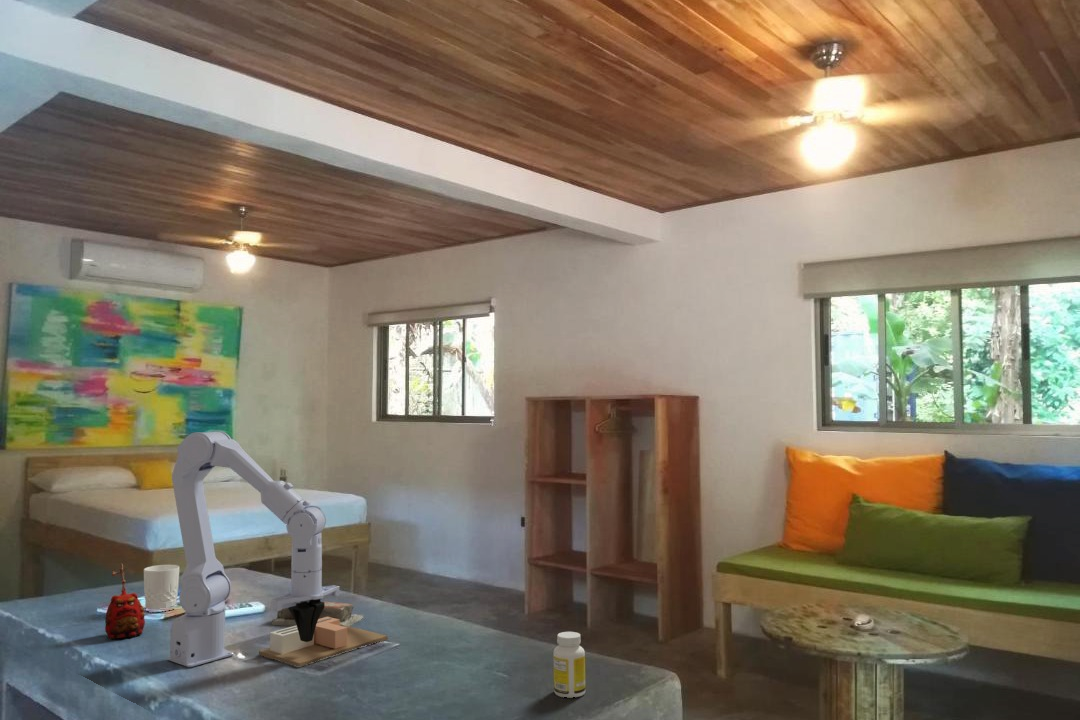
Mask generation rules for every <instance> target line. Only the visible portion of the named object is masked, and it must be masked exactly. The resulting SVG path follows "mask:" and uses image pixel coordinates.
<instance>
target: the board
mask: <svg viewBox="0 0 1080 720" xmlns="http://www.w3.org/2000/svg"><path fill="white" fill-rule="evenodd" d="M344 627H347V645H346V646H343V647H340V648H336V649H334V648H330V647H327V646H323V645H319V644H316V643H314V645H311V646H308V647H305V648H301V649H298V650H295V651H291V652H288V653H284V654H280V653H277V652H274V651H270V647H268V648H265V649H261V650H258V656H260V655H261V656H260V657H263V656H264V657H265V658H267V657H268V658H267V659H270V658H271V659H270V660H273V659H275V660H274V661H276V660H280V661H283V662H286V663H289V664H293V665H296V666H303V665H306V664H309V663H311V662H315V661H318V660H320V659H323V658H326V657H329V656H333V655H336V654H339V653H342V652H345V651H349V650H352V649H355V648H359V647H361V646H365V645H369V644H372V643H375V642H379V641H382V642H384V640H385V641H388V637H389V636H388V635H387V634H386V635H385V634H383V633H378V632H375V631H374V632H373V631H369V630H366V629H362V628H357V627H353V626H344ZM379 643H380V642H379ZM369 646H370V645H369ZM283 662H282V663H283ZM286 663H285V664H286ZM289 664H288V665H289Z"/></svg>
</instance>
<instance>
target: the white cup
mask: <svg viewBox="0 0 1080 720" xmlns="http://www.w3.org/2000/svg"><path fill="white" fill-rule="evenodd" d="M180 569H181V568H180V565H178V564H159V565H151V566H148V567H145V568H143V588H144V590H143V591H144V600H145V601H144V605H145V607H146V608H148V609H160V608H166V607H170V606H173V605H175V604H176V603H177V602H178V601H177V598H178V595H179V594H178V593H179V582H180V581H179V580H180V579H179V578H180ZM176 605H177V604H176ZM145 607H144V608H145Z"/></svg>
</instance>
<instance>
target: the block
mask: <svg viewBox="0 0 1080 720" xmlns="http://www.w3.org/2000/svg"><path fill="white" fill-rule="evenodd" d="M314 643H316V644H319V645H323V646H327V647H330V648H334V649H336V648H340V647H343V646H346V645H347V627H343V626H340V620H339V619H335V618H331V617H324V618H320V619H318V621H317V624H316V627H315V631H314Z"/></svg>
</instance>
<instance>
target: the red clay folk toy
mask: <svg viewBox="0 0 1080 720" xmlns="http://www.w3.org/2000/svg"><path fill="white" fill-rule="evenodd" d="M120 566H121V568H120V569H119V571H114V570H113V571H112V573H111V577H114V576H116V575H118V574H120V576H121V580H122V581H121V583H122V588H121V593H120V594H118V595H115V594H114V595H112V596H111V599H110V603H109V605H108V607H107V610H106V612H105V617H104V618H105V619H104V621H105V622H104V623H105V626H104V628H105V633H106V635H107V638H108V639H110V640H117V639H124V638H135V637H138V636H140V635H142V634H143V630H144V628H145V626H146V625H145V624H146V619H145V616H146V615H145V608H144V607H143V605H142V603H141V601H140V600H139V598H138V594H137V593H136V592H132V593H127V589H126V585H125V584H126V582H127V581H126V580H125V570H127V567H124V565H123V563H120Z"/></svg>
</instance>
